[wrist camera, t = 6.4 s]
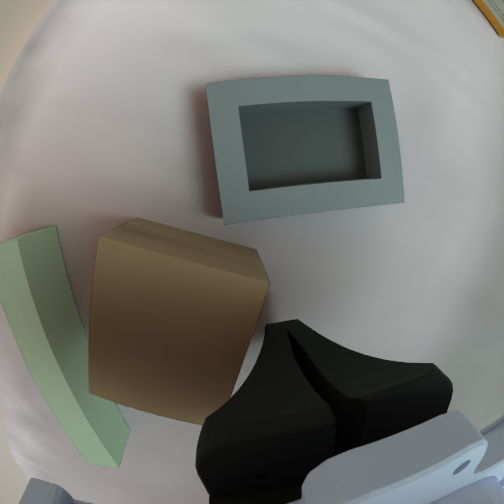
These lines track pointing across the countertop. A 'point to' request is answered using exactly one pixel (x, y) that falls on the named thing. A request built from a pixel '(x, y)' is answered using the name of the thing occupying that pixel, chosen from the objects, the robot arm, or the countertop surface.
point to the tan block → (171, 319)
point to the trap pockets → (234, 211)
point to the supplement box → (493, 13)
